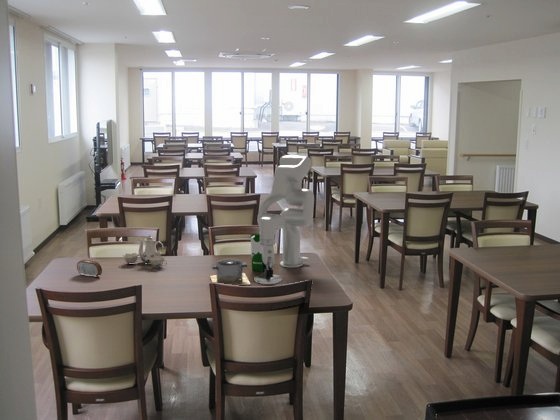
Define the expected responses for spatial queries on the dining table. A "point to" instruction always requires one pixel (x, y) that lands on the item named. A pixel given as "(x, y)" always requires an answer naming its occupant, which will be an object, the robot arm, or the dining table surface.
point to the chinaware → (147, 253)
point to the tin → (89, 267)
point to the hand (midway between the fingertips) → (267, 274)
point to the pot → (230, 272)
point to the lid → (267, 279)
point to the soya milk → (256, 253)
